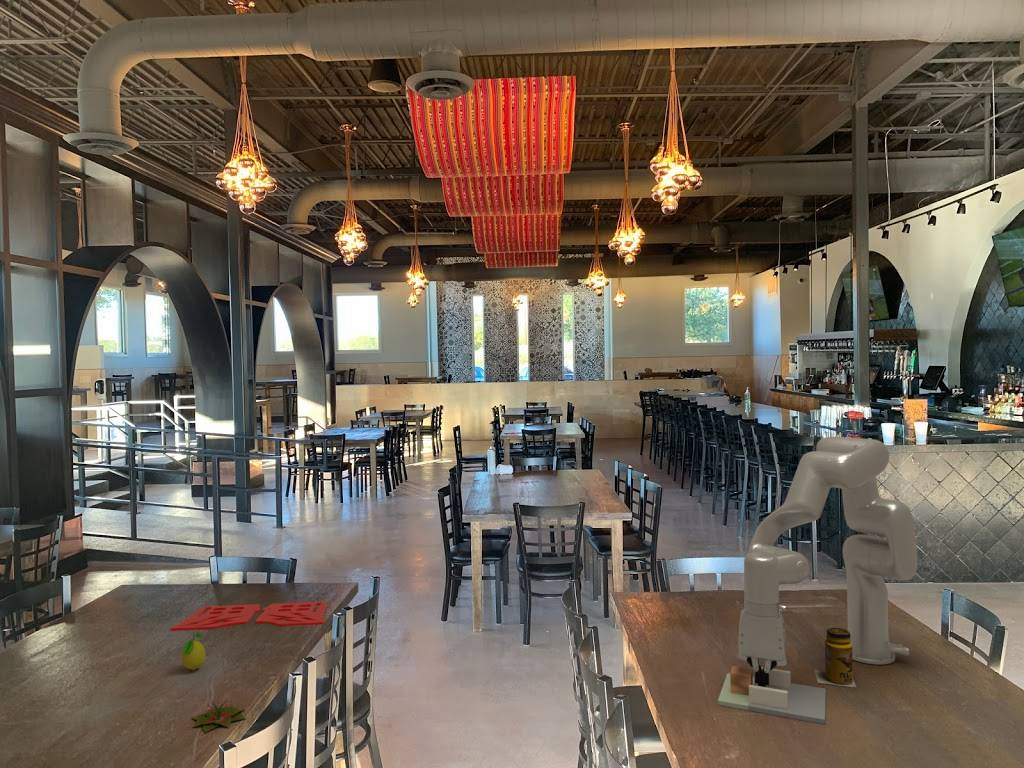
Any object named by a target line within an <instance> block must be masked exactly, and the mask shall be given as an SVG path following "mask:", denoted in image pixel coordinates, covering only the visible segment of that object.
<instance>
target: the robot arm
mask: <svg viewBox="0 0 1024 768" xmlns="http://www.w3.org/2000/svg"><path fill="white" fill-rule="evenodd" d="M889 461H890V453H889V449H888V447H887V446H886V444H885V443H884V442H882V441H880V440H878V439H874V438H873V439H871V438H859V437H858V438H857V437H847V436H826V437H823V438H821V439H820V440H818V442H817V444H816V450H815V451H809V452H806V453H805V454H804V455H802V456H801V458H800V460H799V463H798V466H797V469H796V470H795V474H794V477H793V479H792V482H791V483H790V487H789V490H788V491H787V492H788V493H787V495H786V497H785V500H784V503H783V504H782V505H781V506H779V507H778V508H776V509H775V510H773V511H772V512H771V513H770V514H769V515H768V516H766V517H765V518H764V519H763V520H762V521H761V522H760V524H759V525H757V527H756V529H755V531H754V533H753V536H752V538H751V542H750V543H749V547H748V551H747V554H746V555H745V556H744V558H743V559H744V560H743V588H744V589H743V591H744V593H743V597H744V601H743V604H744V606H743V607H744V608H742V609H741V612H740V617H739V624H738V625H739V626H738V639H737V643H738V644H737V645H738V653H737V658H738V659H739V660H741V661H744V662H746V663H748V664H749V666H750V667H751V669H753V672H754V671H755V683H756V684H758V686H761V687H766V685H768V686H769V672H770V671H771V670H772V669H776V667H785V666H787V664H788V660H787V657H786V651H787V648H786V647H787V643H786V640H787V639H786V626H785V622H784V621H785V620H784V617H783V614H782V612H786V610H787V609H786V607H787V606H786V605H785V604H781V603H780V585H796V584H800V583H801V582H804V581H805V580H806V579H807V577H808V576H809V574H810V568H811V567H810V562H809V560H808V558H807V557H806V556H805V555H803V554H802V553H800V552H798V551H796V550H795V551H794V550H792V549H791V550H790V549H786V548H783V547H778V546H774V544H775V542H776V540H777V539H778V538H779V537H780V536H781V535H782V534H783V533H784V532H785V533H786V531H788V530H790V529H792V528H795V527H797V526H801V525H806V524H808V523H812V522H815V521H817V520H818V519H820V518H821V515H822V512H823V510H824V507H825V504H826V501H827V498H828V496H829V493H830V490H831V489H832V488H837V489H841V494H842V502H843V512H844V518H845V522H846V524H847V526H848V528H849V529H851V530H853V531H856V532H859V533H863V534H853V535H850V536H848V537H847V538H846V539H845V540H844V543H843V545H842V559H843V562H844V567H845V571H846V572H845V573H846V587H847V593H846V594H847V598H846V599H847V601H846V602H847V631H849V632H850V635H851V636H850V639H851V641H850V642H851V644H852V660H853V661H856V662H859V663H863V664H867V665H888V664H892V663H894V662H895V661H896V654H897V655H901V656H910V649H909V647H905V646H903V644H898V643H896V644H895V643H893V642H890V637H889V593H888V587H887V584H886V583H885V581H884V578H889V579H893V580H896V581H897V580H898V581H909V580H910V579H913V577H914V576H915V574H916V573H917V570H918V552H917V551H918V550H917V540H916V532H915V531H916V530H915V521H914V517H913V513H912V511H911V509H910V507H908V505H907V504H905V503H903V502H902V501H898V500H896V499H895V500H894V499H888V498H882V497H881V496H880V493H879V487H878V480H877V476H879V475H881V473H883V472H884V471H885V470H886V468H887V466H888V464H889ZM872 535H873V536H872ZM878 536H879V537H878ZM882 537H883V538H882ZM883 577H884V578H883ZM760 660H765V663H764V665H763V666H762V665H761V664H760ZM761 667H763V670H762V668H761Z"/></svg>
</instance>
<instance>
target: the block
mask: <svg viewBox="0 0 1024 768" xmlns="http://www.w3.org/2000/svg"><path fill="white" fill-rule="evenodd" d="M729 673H730V687H731V693H736V694H742V695H748V696H749V685H753V677H754V670H753V668H752V667H751V668H750V667H745V666H737V665H732V666H731V669H730V672H729Z"/></svg>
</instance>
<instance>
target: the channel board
mask: <svg viewBox="0 0 1024 768" xmlns="http://www.w3.org/2000/svg"><path fill="white" fill-rule="evenodd" d="M763 667H764V666H761V668H762V670H763ZM730 673H731V672H727V673H726V676H725V680H724V681H723V685H722V688H721V691H720V693H719V696H718V699H717V706H723V707H727V708H732V709H733V708H734V709H737V710H743V711H750V712H755V713H760V714H761V713H762V714H765V715H766V714H767V715H772V716H777V717H782V718H788V719H794V720H798V721H799V720H800V721H804V722H805V721H806V722H810V723H817V724H822V725H826V692H827V689H826V688H823V687H819V686H818V687H816V686H811V685H806V684H798V683H792V682H791V670H785V669H784V670H783V669H777V668H773V669H772V670H771V671H770V672H769V686H768V685H766V687H761V686H758V684H756V683H755V671H754V670H753V685H749V696H748V695H742V694H736V693H731V687H730Z"/></svg>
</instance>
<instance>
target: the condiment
mask: <svg viewBox="0 0 1024 768" xmlns="http://www.w3.org/2000/svg"><path fill="white" fill-rule="evenodd" d="M850 636H851V635H850V632H849V631H848V629H845V628H840V627H829V628H828V629H826V638H825V640H824V666H825V668H824V670H819V669H818V670H817V669H814V674H815V679H816V681H817V684H825V685H826V684H827V685H833V686H840V687H841V686H842V687H848V688H849V687H850V688H857V685H856V682H855V680H854V678H853V675H854V674H853V671H854V669H853V667H854V666H853V661H854V660H853V659H852V644H851V642H850V641H851V639H850Z"/></svg>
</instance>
